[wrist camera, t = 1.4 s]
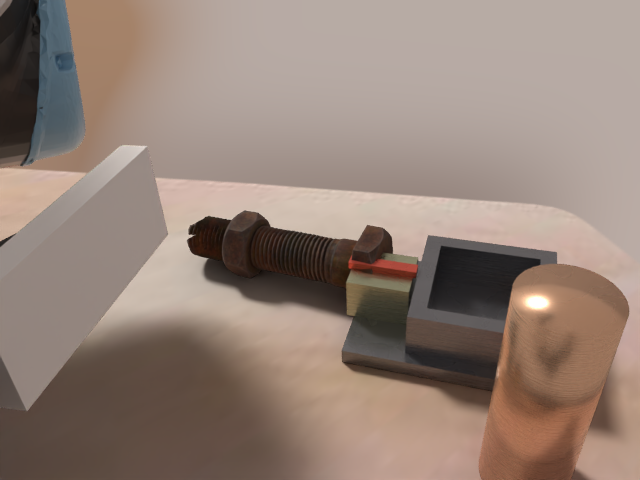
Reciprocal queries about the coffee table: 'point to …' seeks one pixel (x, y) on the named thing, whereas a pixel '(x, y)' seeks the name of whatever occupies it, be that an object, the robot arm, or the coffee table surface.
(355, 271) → the grey box on baseplate
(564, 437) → the pipe stub
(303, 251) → the bolt
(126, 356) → the coffee table surface
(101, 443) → the coffee table surface
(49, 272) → the robot arm
